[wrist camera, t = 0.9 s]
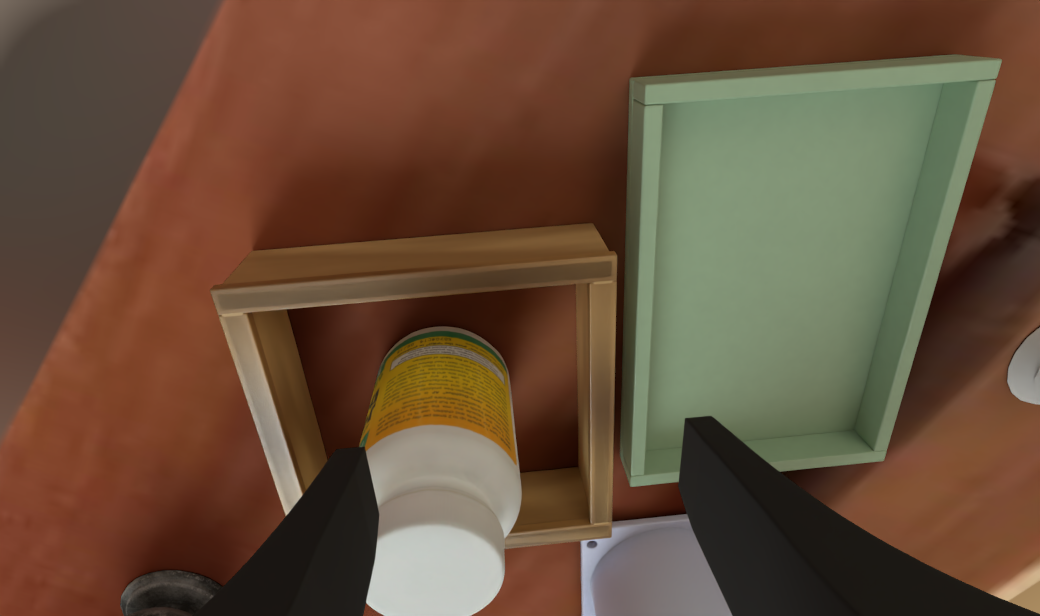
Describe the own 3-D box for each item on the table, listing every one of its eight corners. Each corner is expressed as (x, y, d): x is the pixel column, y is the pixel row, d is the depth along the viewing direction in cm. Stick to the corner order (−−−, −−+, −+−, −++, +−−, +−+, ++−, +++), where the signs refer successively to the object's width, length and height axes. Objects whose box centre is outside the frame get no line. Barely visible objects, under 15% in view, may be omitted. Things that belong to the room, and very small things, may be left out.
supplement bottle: (517, 420, 25) (541, 628, 17) (394, 438, 25) (356, 657, 17) (499, 311, 23) (517, 490, 14) (363, 331, 23) (300, 524, 14)
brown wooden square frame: (595, 477, 27) (612, 538, 24) (322, 505, 27) (303, 571, 24) (595, 219, 21) (617, 255, 18) (247, 247, 21) (209, 289, 18)
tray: (857, 431, 27) (884, 461, 26) (619, 455, 27) (630, 487, 25) (955, 54, 20) (1003, 58, 18) (629, 77, 19) (645, 84, 18)
